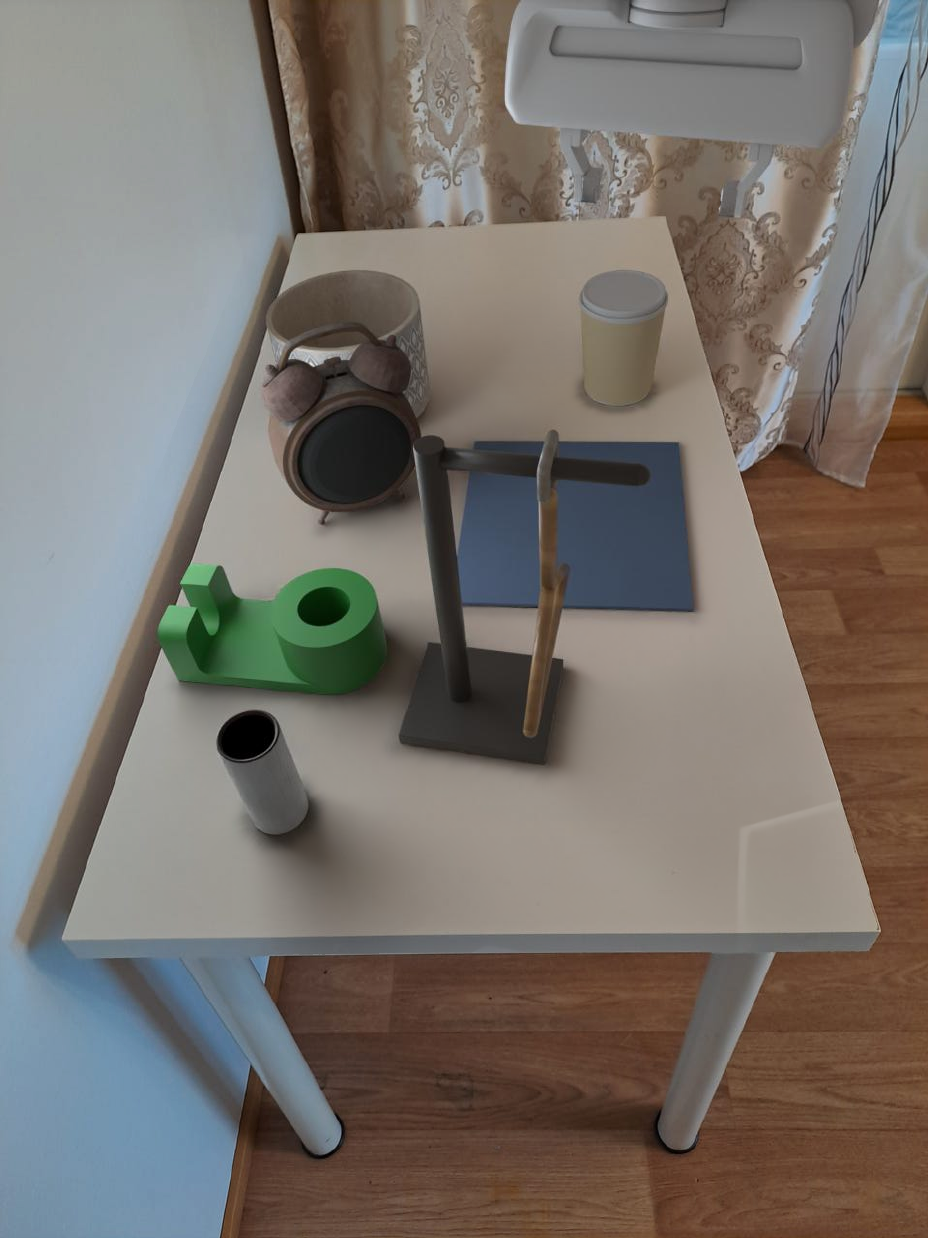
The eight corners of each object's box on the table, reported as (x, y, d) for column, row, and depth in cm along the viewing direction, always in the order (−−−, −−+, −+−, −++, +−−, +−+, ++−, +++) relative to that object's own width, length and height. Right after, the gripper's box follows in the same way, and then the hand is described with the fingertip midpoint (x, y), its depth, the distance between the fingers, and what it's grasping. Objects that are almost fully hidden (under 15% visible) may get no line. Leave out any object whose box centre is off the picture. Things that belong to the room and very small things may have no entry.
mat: (678, 444, 97) (678, 441, 97) (692, 611, 81) (693, 608, 81) (474, 443, 100) (474, 440, 99) (450, 605, 84) (450, 602, 84)
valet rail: (630, 676, 77) (658, 412, 57) (617, 776, 71) (644, 519, 50) (429, 650, 80) (389, 393, 60) (399, 743, 74) (343, 491, 54)
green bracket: (396, 620, 83) (387, 571, 78) (374, 699, 77) (362, 652, 72) (213, 605, 86) (193, 557, 81) (178, 680, 80) (154, 633, 75)
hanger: (572, 569, 74) (577, 368, 60) (537, 741, 63) (534, 546, 49) (557, 568, 74) (559, 367, 60) (520, 739, 63) (512, 543, 49)
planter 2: (283, 383, 110) (258, 285, 100) (414, 356, 112) (401, 258, 102) (301, 465, 99) (274, 364, 90) (445, 433, 101) (434, 331, 92)
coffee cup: (656, 363, 107) (666, 267, 98) (660, 410, 101) (671, 312, 92) (577, 363, 108) (580, 268, 99) (576, 410, 102) (578, 313, 93)
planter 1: (262, 845, 69) (226, 773, 61) (243, 799, 72) (207, 725, 64) (317, 818, 70) (289, 744, 62) (297, 775, 73) (267, 699, 65)
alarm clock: (302, 545, 91) (253, 373, 76) (285, 502, 95) (235, 332, 80) (437, 502, 93) (416, 328, 79) (414, 463, 98) (390, 291, 83)
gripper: (892, -60, 49) (827, 205, 58) (529, -69, 54) (524, 176, 64) (890, -40, 45) (820, 242, 54) (496, -51, 50) (496, 208, 59)
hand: (657, 207), depth 59 cm, fingers open, 8 cm apart
